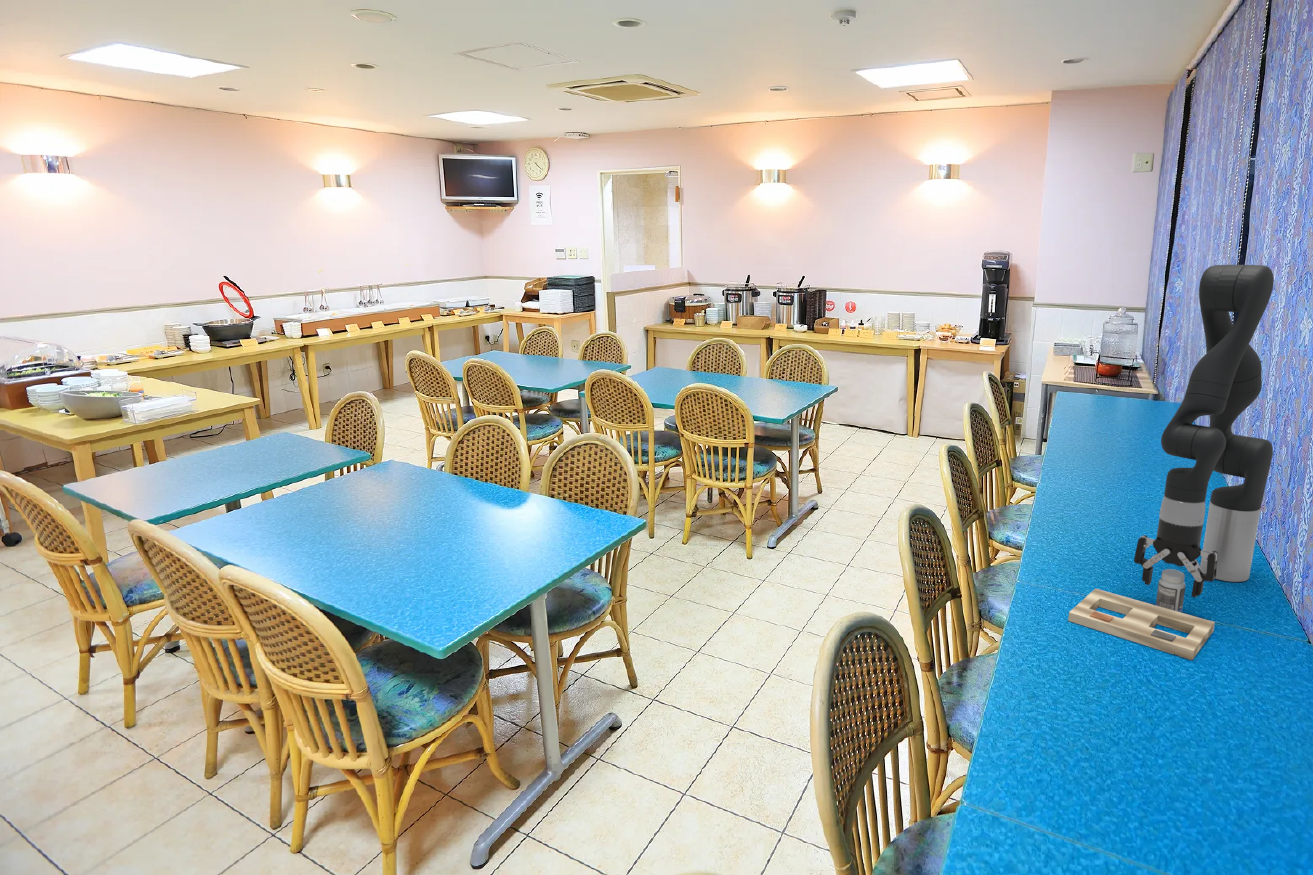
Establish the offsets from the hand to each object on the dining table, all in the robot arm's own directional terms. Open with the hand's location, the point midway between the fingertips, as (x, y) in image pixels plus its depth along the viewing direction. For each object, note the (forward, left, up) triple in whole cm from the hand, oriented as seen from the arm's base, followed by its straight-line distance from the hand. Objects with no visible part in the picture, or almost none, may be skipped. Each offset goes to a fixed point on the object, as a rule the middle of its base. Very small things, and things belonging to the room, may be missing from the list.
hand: (1170, 589), depth 158 cm
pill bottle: (0, 0, -5) cm, 5 cm away
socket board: (+12, -2, -5) cm, 13 cm away
